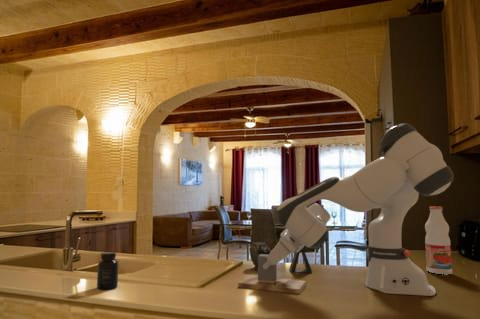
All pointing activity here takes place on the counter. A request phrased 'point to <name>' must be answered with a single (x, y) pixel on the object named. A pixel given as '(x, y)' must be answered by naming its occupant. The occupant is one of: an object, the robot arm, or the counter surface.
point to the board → (274, 285)
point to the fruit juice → (437, 243)
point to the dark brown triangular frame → (295, 260)
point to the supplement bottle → (107, 271)
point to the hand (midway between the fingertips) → (265, 266)
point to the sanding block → (269, 273)
